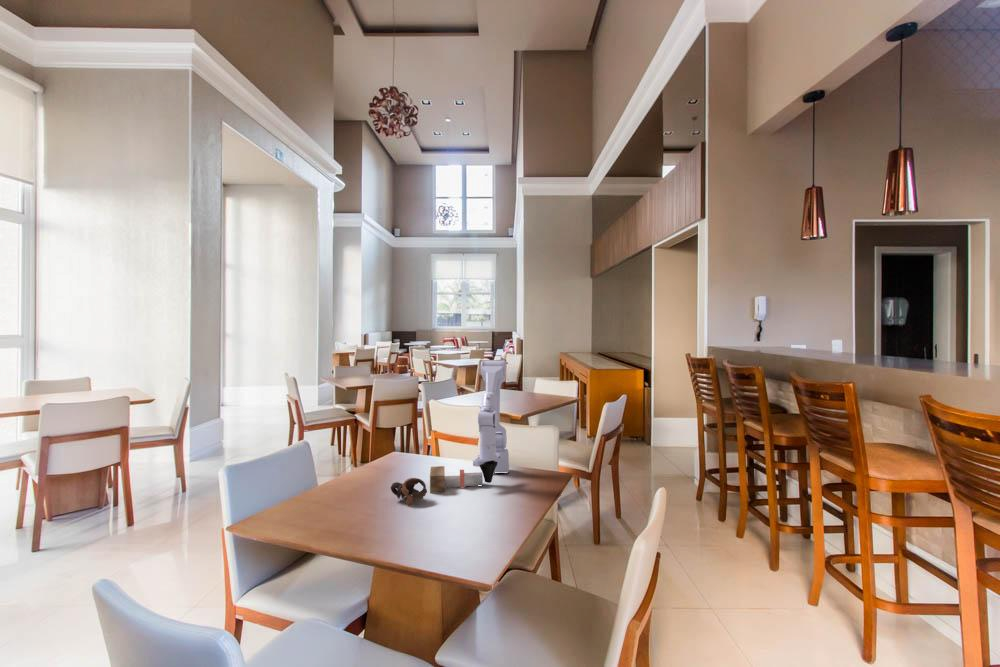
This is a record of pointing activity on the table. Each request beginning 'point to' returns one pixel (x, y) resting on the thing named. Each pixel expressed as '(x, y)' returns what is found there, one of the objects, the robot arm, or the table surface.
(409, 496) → the brown ringed sculpture
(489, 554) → the table surface
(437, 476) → the walnut block
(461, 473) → the grey and red block
